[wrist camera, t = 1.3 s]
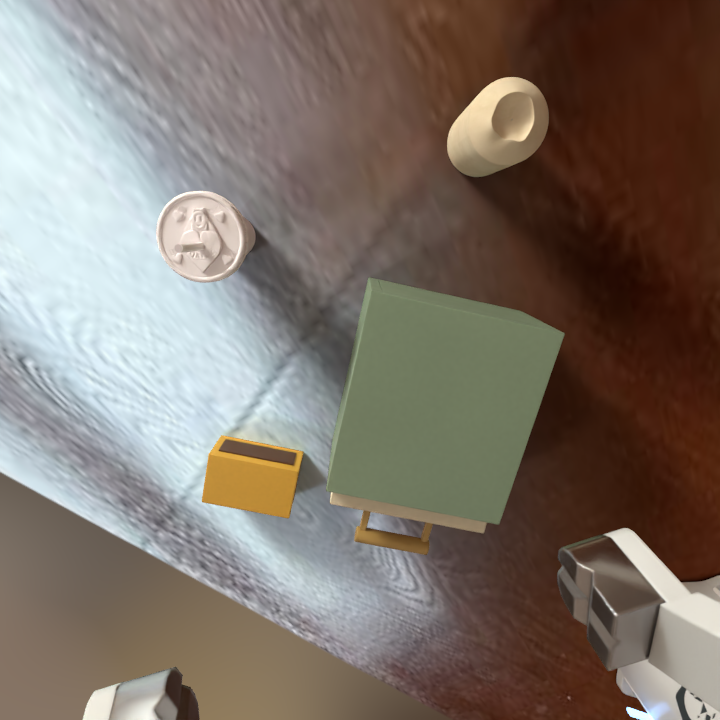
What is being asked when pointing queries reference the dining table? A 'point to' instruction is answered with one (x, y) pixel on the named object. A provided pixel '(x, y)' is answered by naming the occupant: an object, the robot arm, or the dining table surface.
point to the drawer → (395, 539)
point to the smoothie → (203, 236)
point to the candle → (498, 128)
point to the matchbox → (252, 476)
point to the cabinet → (439, 401)
